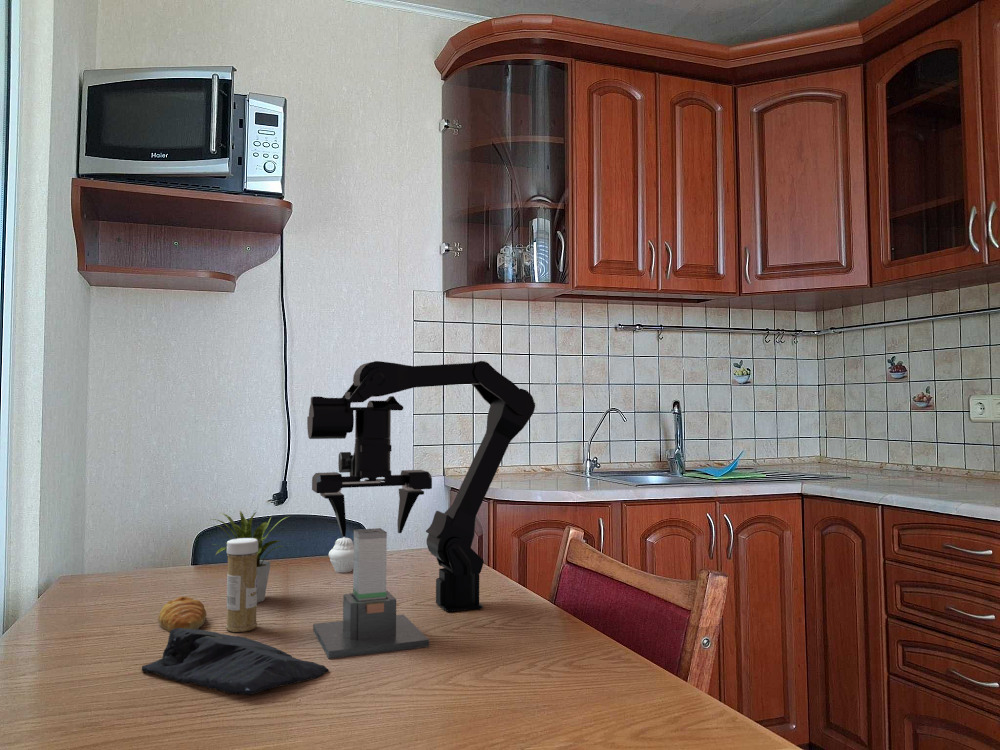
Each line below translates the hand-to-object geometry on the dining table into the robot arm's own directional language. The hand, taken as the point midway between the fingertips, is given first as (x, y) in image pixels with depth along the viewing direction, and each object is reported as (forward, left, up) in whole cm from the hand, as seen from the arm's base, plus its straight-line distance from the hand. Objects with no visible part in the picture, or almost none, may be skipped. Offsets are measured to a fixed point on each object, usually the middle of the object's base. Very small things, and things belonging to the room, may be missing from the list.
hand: (372, 534), depth 124 cm
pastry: (+28, -6, -14) cm, 32 cm away
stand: (+3, +12, -13) cm, 18 cm away
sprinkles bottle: (+20, 0, -13) cm, 24 cm away
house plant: (+19, -18, -13) cm, 29 cm away
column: (+3, +12, -7) cm, 14 cm away
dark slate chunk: (+22, +19, -14) cm, 32 cm away
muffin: (-2, -35, -13) cm, 37 cm away
